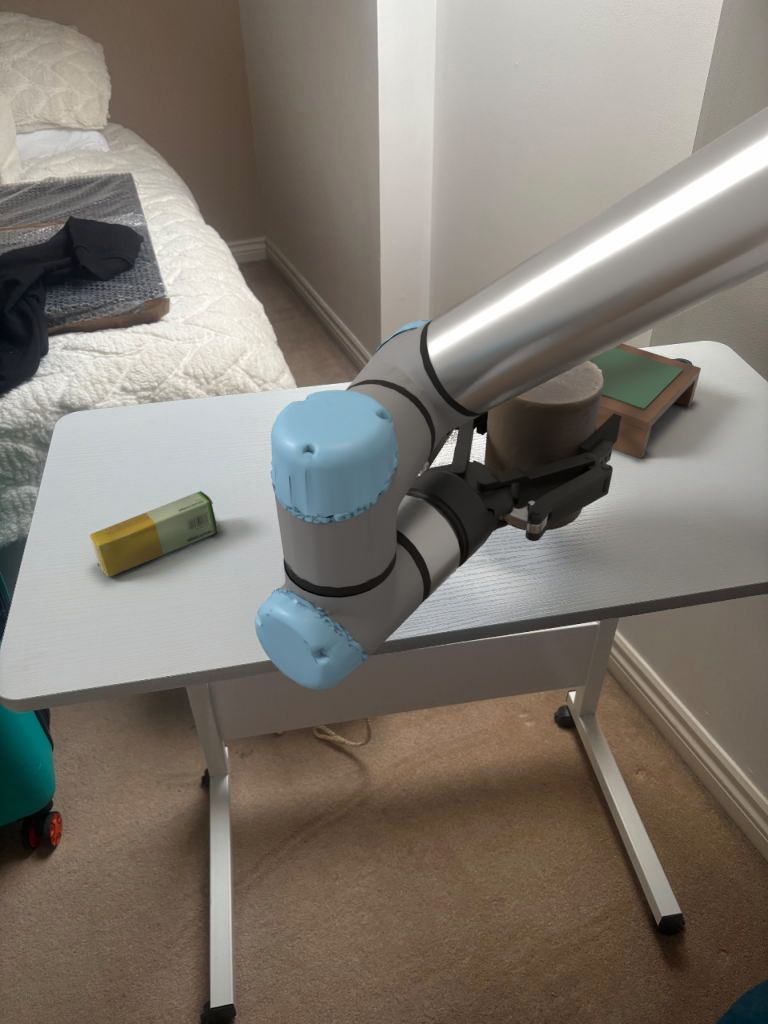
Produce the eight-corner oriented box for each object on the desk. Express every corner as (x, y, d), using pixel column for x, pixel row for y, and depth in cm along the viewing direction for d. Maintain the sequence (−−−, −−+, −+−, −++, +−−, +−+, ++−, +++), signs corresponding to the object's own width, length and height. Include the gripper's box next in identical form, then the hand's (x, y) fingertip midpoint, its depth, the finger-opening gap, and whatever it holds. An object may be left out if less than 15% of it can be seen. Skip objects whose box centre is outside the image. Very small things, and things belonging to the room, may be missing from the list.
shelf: (692, 403, 104) (705, 353, 99) (640, 458, 95) (652, 406, 90) (590, 369, 110) (598, 320, 106) (533, 418, 101) (539, 367, 97)
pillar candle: (516, 544, 75) (532, 402, 66) (463, 485, 82) (470, 349, 72) (604, 513, 78) (632, 373, 69) (546, 459, 85) (563, 325, 76)
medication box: (208, 521, 87) (202, 488, 85) (220, 532, 85) (214, 499, 83) (97, 566, 81) (87, 532, 79) (107, 579, 79) (97, 545, 77)
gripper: (319, 516, 72) (463, 405, 85) (546, 631, 61) (669, 484, 75) (313, 444, 67) (467, 339, 81) (557, 556, 56) (687, 413, 70)
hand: (564, 409), depth 78 cm, fingers closed on pillar candle, 10 cm apart
